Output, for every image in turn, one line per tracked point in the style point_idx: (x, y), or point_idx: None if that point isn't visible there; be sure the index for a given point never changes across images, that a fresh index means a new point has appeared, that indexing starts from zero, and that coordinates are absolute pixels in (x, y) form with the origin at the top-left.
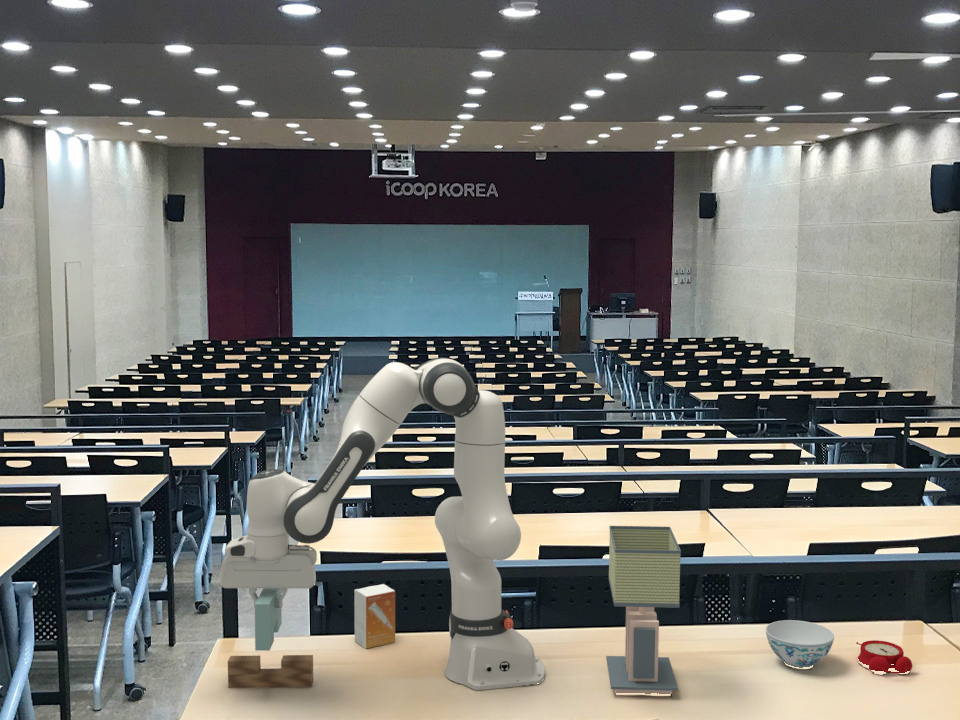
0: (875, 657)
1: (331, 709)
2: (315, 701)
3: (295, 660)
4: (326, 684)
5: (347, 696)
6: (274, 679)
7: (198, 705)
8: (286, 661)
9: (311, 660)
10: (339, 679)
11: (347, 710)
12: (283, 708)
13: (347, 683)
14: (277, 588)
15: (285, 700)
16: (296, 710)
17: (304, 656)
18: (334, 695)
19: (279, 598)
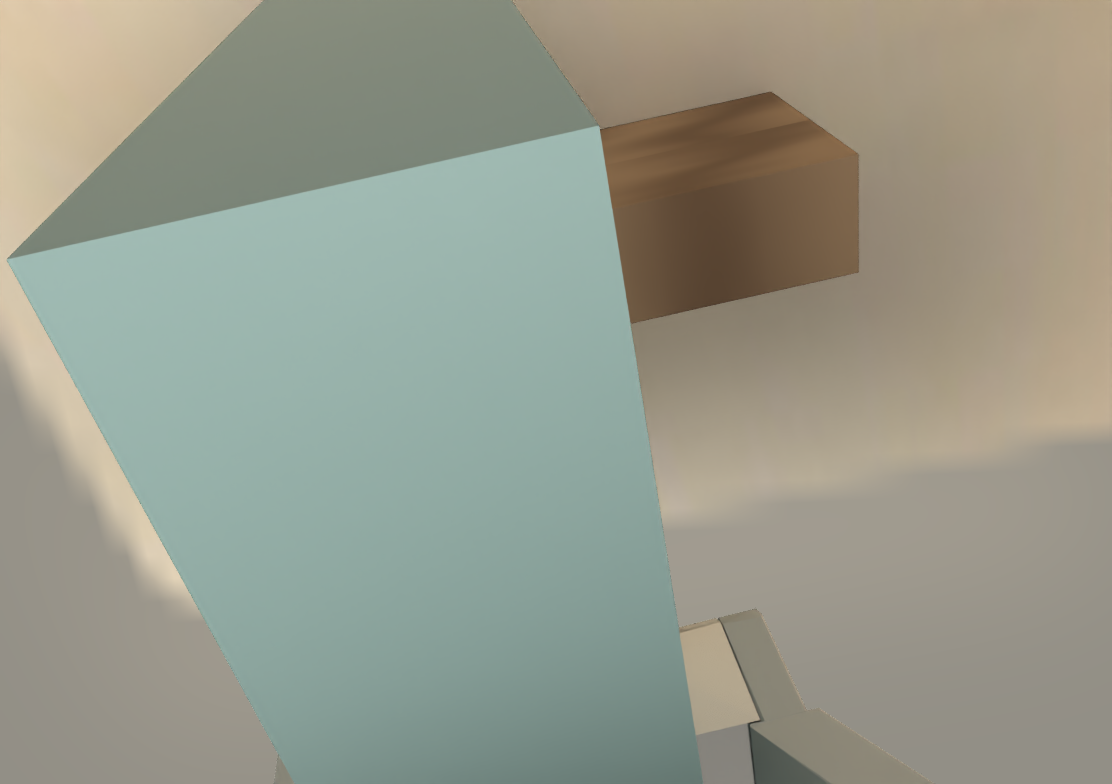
0: None
1: (935, 443)
2: (834, 377)
3: (723, 302)
4: (874, 127)
5: (1023, 277)
6: None
7: (160, 561)
8: (644, 314)
9: (855, 255)
10: (964, 17)
11: (1022, 435)
12: (668, 488)
13: (1024, 80)
14: (694, 748)
15: (651, 403)
16: (746, 492)
17: (785, 204)
18: (942, 280)
19: (757, 773)
